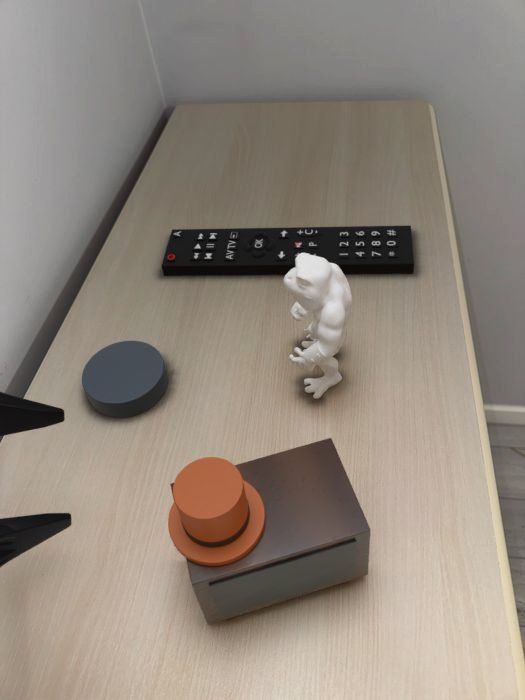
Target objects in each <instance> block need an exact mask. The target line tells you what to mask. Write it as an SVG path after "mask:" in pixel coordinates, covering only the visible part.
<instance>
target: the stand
mask: <svg viewBox="0 0 525 700" xmlns="http://www.w3.org/2000/svg"><path fill="white" fill-rule="evenodd" d="M81 384H82V388H83V390H84V392H85V394H86V396H87V398H88V401H89V404H90V405H91V406H92V408H93V409H95V411H97V412H98V413H100V414H101V415H104V416H106V417H109V418H110V417H111V418H117V419H118V418H129V417H133V416H136V415H140V414H142V413H144V412H146V411H148V410H150V409H151V408H153V407H154V406H155V405H156V404H157V403H158V402H159V401H160V400H161V399H162V398H163V396H164V394H165V393H166V391H167V388H168V384H169V376H168V371H167V367H166V364H165V361H164V358H163V356H162V354H161V353H160V351H159V350H158V349H157V348H156V347H155V346H153V345H152V344H150V343H147V342H144V341H140V340H122V341H118V342H114V343H112V344H108V345H106V346H105V347H103V348H102V349H100V350H98V351H97V352H96V353H94V354H93V355H92V356H91V357H90V359H89V360H88V361H87V362H86V364H85V366H84V368H83V370H82V373H81Z"/></svg>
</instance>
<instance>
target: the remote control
mask: <svg viewBox="0 0 525 700" xmlns="http://www.w3.org/2000/svg"><path fill="white" fill-rule="evenodd" d="M300 253H307V254H310V255H314V256H318V257H322V258H325V259H326V260H327V261H328V262H329V263H334V264H337V265H338V266H339V268H340V269H341V270H342V272H343V274H344V275H393V274H395V275H397V274H398V275H399V274H400V275H401V274H402V275H403V274H404V275H405V274H406V275H407V274H411V275H412V274H414V268H415V256H414V247H413V235H412V225H359V226H357V225H355V226H353V225H352V226H351V225H350V226H304V227H303V226H302V227H301V226H299V227H298V226H297V227H295V226H294V227H245V228H244V227H243V228H241V227H240V228H183V229H182V228H181V229H180V228H179V229H177V228H176V229H175V228H174V229H171V231H170V235H169V239H168V242H167V246H166V249H165V252H164V255H163V259H162V263H161V269H162V270H161V271H162V273H163V276H257V275H258V276H263V275H264V276H267V275H269V276H270V275H271V276H272V275H274V276H275V275H277V276H278V275H280V276H281V275H282V276H283V275H284V276H285V275H286V274H287V273H288V272H289V271H290V270H291V269H293V268H295V267H296V264H295V259H296V257H297V256H298V255H299V254H300Z"/></svg>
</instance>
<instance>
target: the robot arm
mask: <svg viewBox="0 0 525 700" xmlns="http://www.w3.org/2000/svg"><path fill="white" fill-rule="evenodd" d="M65 416H66V415H65V410H64V409H63V408H61V407H58V406H53V405H49V404H46V403H42V402H38V401H34V400H30V399H27V398H23V397H19V396H16V395H12V394H8V393H5V392H3V391H0V437H4V436H8V435H15V434H19V433H24V432H29V431H33V430H39V429H44V428H47V427H51V426H54V425H57V424H60V423H64V422H65ZM71 526H72V514H71V513H70V512H46V513H45V512H44V513H37V514H28V515H21V516H11V517H3V518H0V568H2V567H3V566H4V565H7V564H8V563H9V562H11V561H13V560H14V559H16V558H17V557H20V556H21V555H22V554H24V553H26V552H28V551H29V550H31V549H33V548H35V547H36V546H39V545H40V544H42V543H44V542H46V541H48V540H49V539H51V538H52V537H54V536H56V535H58V534H59V533H61V532H63V531H65V530H67V529H68V528H70V527H71Z"/></svg>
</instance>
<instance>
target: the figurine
mask: <svg viewBox="0 0 525 700" xmlns="http://www.w3.org/2000/svg"><path fill="white" fill-rule="evenodd" d="M295 264H296V267H295V268H293V269H291V270H290V271H289V272H288V273H287V274H286V275H284V277H283V280H282V282H283V285H284V287H285V289H286V291H288V292H289V293H290V294H291V295H292V296H293V298H294V300H295V303H294V304H293V305H292V307H291V308H290V312H289V313H290V315H291V316H292V317H293V319H294V320H295V321H297V322H304V321H305V319H307V318H308V317H309V316H308V311H311V312H312V315H313V318H314V321H312V322H310V321H309V322H308V325H309V326H308V327H306V328H303V329H302V331H305V332H307V333H308V334H307V335H306V336H305V338H306V339H310V340H308V341H307V340H303V341H302V342H301V347H303V348H304V349H303V350H302V349H301V348H300V347H297V346H296V347H294V349H293V351H294V352H295V353H296V354H297V355H298V356H297V357H296V356H294V355H293V354H289V356H288V358H289V359H288V360H290V361H291V362H292V363H293V364H297V365H298V367H299V369H305V370H308V371H309V372H312V371H313V370H314V369H315V367H317V366H318V367H319V368H320V369H321V370H322V372H323V376H321V377H316V378H311V377H308V378H304V380H303V384H304V385H305V386H306V387H305V388H304V392H305V393H306V394H310V393H314V394H313V395H312V396H313V399H314V400H318V399H320V398H322V396H323V395H324V394H325V392H327V390H328V389H329V388H331V387H334V386H335V385H337V384H338V383H340V382H341V381H342V379H343V377H342V375H341V373H340V371H339V362H338V360H337V359H336V358H335V357H334V356H336V355H337V354H338V353H339V351H340V348H341V347H342V346H343V345H344V343H345V342H346V339H347V327H348V322H349V320H350V316H351V311H352V307H353V295H352V292H351V291H352V290H351V286H350V283H349V281H348V279H347V277H346V274H343V272H342V270H341V269H340V268H339V266H338V265H337V264H334V263H329V262H328V261H327V260H326V259H325V258H322V257H318V256H314V255H310V254H307V253H300V254H299V255H298V256H297V257H296V259H295Z"/></svg>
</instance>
